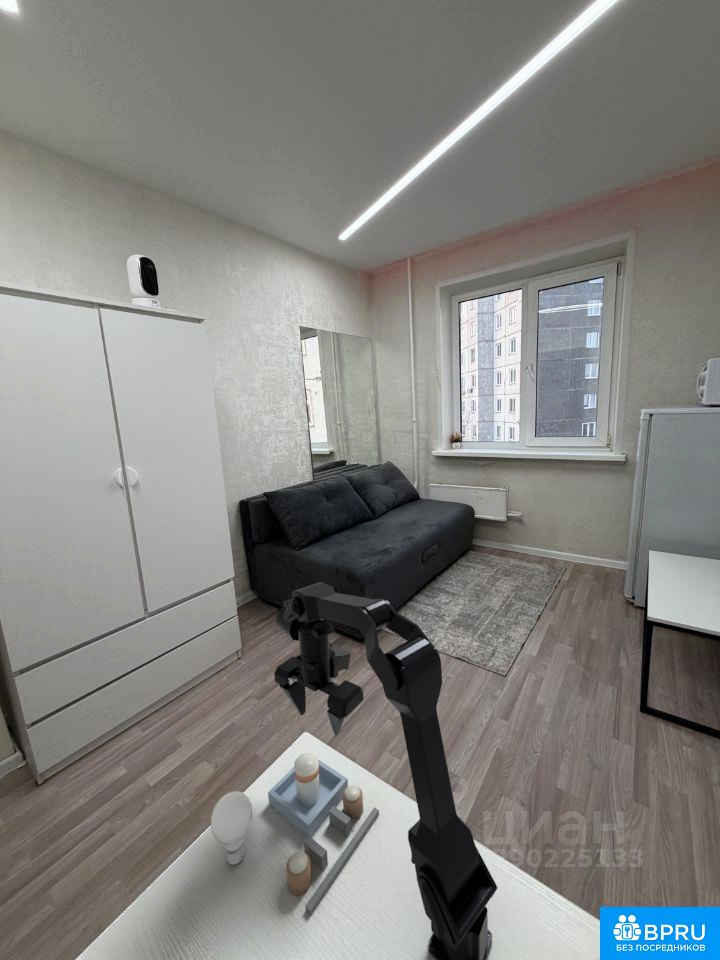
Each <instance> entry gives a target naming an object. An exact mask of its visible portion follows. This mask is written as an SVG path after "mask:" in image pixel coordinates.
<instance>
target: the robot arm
mask: <svg viewBox="0 0 720 960" xmlns="http://www.w3.org/2000/svg"><path fill="white" fill-rule="evenodd" d="M291 595H292V596H291V598H289V599H286V600H284V601H282V603H283V606H282V607H281V608H280V610H279V611H278V613H277V615H276V618H275V624H276V627H277V628H278V629H279V630H280V631H282V632H283V633H284V634H286V636H288V637H289V638H291V640H294V641H298V646H299V655H297V656H294V655H293V656H291V657H290V658H288V659H287V660H285V661H284V662H283V663H281V664H280V665H277V667H276V669H275V671H274V673H273V674H274V682H275V683H277V684H278V685H279V688H280V689H282V691H283V692H284V693H285V694H286V696H287V698H288V699H289V701H291V703H292V705H293V706H294V707H295V709H296V711H297V712H298V714H299V715H300V716H303V715H305V713H306V708H307V707H306V706H307V704H306V703H307V702H306V699H307V697H306V694H307V693H306V688H307V689H309V690H311V691H313V692H315V693H316V692H317V691H320V692H322V693H324V694H326V695H328V697H327V700H326V703H327V708H328V710H326V712H327V716H328V719H329V723H330V725H331V728H332V731H333V734H334V735H335V736H337V735H339V734H340V732H341V730H342V726H343V724H344V720H345V718H347V717H348V716H349V715H350V714H351V713H352V712H353V711H354V710H355V709H356V708H357V707H358V706H360V704H361V703H362V702H363V701H364V690H363V687H361V686H360V685H357V684H355V683H353V682H351V681H349V680H346V679H345V680H343V681H342V682H341V683H340V684H338V683H336V682H333V681H332V679H336V678H337V677H338V676H339V672H340V671H343V670H346V671H347V670H349V668H350V661H351V657H352V656H351V655H352V653H351V651H348V650H347V649H343V648H340V647H338V646H334V645H332V643H331V642H330V635H331V634H333V633H334V632H335V628H334V627H333V625H332V624H330V622H333V623H336V624H341V625H344V626H347V627H351V628H353V629H357V630H359V632H360V633H361V635H362V636H363V638H364V644H365V653H366V660H367V663H368V664H369V666H370V667H371V669H372V670H373V672H374V673H375V675H376V676H377V678H378V679H379V681H380V682H381V685H382V688H383V692H384V696H385V697H386V699H387V700H388V701H389V702H390V703H391V704H392V705H393V707H394V708H395V709H396V710H397V711H398V712H399V715H400V719H401V724H402V730H403V735H404V740H405V746H406V750H407V752H406V753H407V756H408V757H407V758H408V762H409V766H410V767H409V768H410V772H411V779H412V783H413V788H414V794H415V800H416V804H417V810H418V814H419V815H418V816H419V820H417V821H416V823H414V824H413V825H412V826H411V828H409V829H408V832H407V841H408V844H409V847H410V852H411V853H410V855H411V864H412V865H414V868H415V874H416V881H417V885H418V888H419V889H418V890H419V893H420V897H421V900H422V905H423V909H424V912H425V915H426V916H427V917H428V919H429V920H430V928H431V933H432V932H433V935H432V937H431V940H430V943H429V944H428V952H429V955H430V956H432V957H433V958H434V959H435V960H487V957H488V955H489V952H490V948H491V945H492V941H493V933H492V932H491V931H490V929H488V927H489V926H488V921H489V919H488V915H489V914H488V908H487V904H488V903H489V901H490V900H491V899H492V898H493V896H494V895H495V893H496V892H497V890H498V886H497V884H496V882H495V880H494V878H493V875H492V874H491V873H490V870H489V868H488V866H487V865H486V863H485V861H484V859H483V857H482V855H481V854H480V852H479V851H480V850H478V848H477V846H476V844H475V840H474V837H473V833H472V830H471V829H470V827H469V826H468V825H467V824H466V823H465V822H464V821H463V820H462V819H461V818H460V816H459V815H458V813H457V810H456V805H455V799H454V793H453V790H452V789H453V788H452V784H451V777H450V774H449V773H450V772H449V767H448V764H447V757H446V753H445V746H444V743H443V736H442V732H441V727H440V726H441V725H440V722H439V721H440V720H439V717H438V715H439V714H438V711H437V709H438V708H437V706H438V702H439V697H440V694H441V690H442V686H443V673H442V671H443V670H442V660H441V656H440V654H439V651H438V650H437V648H436V647H435V646H434V644H433V643H432V642H431V640H430V639H429V638H428V637H427V635H426V634H425V633H424V632H423V630H422V628H421V627H420V626H419V625H418V624H417V623H415V622H414V621H412V620H410V619H408V618H407V617H405V616H403V615H401V613H399V612H397V611H396V609H395V608H394V607H393V606H392V604H391V603H390V602H389V601H388V600H387V599H385V598H377V599H373V598H369V597H362V596H357V595H350V594H345V593H339V592H336V591H334V587H333V586H331V585H329V584H327V583H325V582H323V581H321V582H320V581H319V582H317V583H313V584H311V585H308V586H305V587H302V588H299V589H296V590H293V591H292V593H291ZM328 621H330V622H328ZM384 627H385V628H386V629H388V630H389V631H391V632H392V633H394V634H396V635H397V636H398V637H400V638H403V639H404V640H406V641H405V642H404V643H401V644H399V645H398V646H396V647H394V648H393V649H391V650H388V651H387V652H384V651H383V650H382V648H381V647H380V645H379V644H380V643H379V639H378V630H380V629H383V628H384Z"/></svg>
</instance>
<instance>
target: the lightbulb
mask: <svg viewBox="0 0 720 960" xmlns="http://www.w3.org/2000/svg"><path fill="white" fill-rule="evenodd" d="M252 820H253V805H252V801H251V800H250V798H249V796H247V794H245V793H244V792H242V791H238V790H235V791H234V790H233V791H230V792H228V793H226V794H225V795H223V796H222V797H220V798H219V800H218V802H216V804H215V806H214V808H213V810H212V813H211V817H210V829H211V833H212V835H213V837H214V838H215V839H216V841H217V842H218V843H220V844H222V845H223V847H224V849H225V851H226V859H227V862H228V863H229V864H230V865H237V864H239V863H240V862H241V861H242V859H243V858H244V855H245V845H244V841H245V835H246V833H247V831H248V830H249V828H250V825H251V824H252V823H251V822H252Z"/></svg>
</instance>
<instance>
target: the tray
mask: <svg viewBox="0 0 720 960" xmlns="http://www.w3.org/2000/svg"><path fill="white" fill-rule="evenodd" d="M318 764H319V782H320V798H319V800H318V801H317V803H316V804H314V805H313V806H310V807H303V806H301V805H300V804H299V803H298V801H297V793H296V779H295V770H294V768H295V766H293V767H292V768H291V769H290V770H288V772H287V773H285V775H284V776H282V778H281V779H280V780H279V781H278V782H276V784H275V785H274V786H273V787H272V788H270V790H269V791H268V792H267V796H268V805H269V806H271V808H273V809H274V810H275V811H276V812H278V814H280V815H281V816H282V817H284V818H285V819H286V820H287V821H288V822H290V823H291V824H292V825H293V826H295V828H297V829H298V830H299V831H301V833H303V834H304V835H305V836H306V837H308V836H310V837H311V838H312V836H313V835H314V834H315V832H316V831H317V830H318V828H320V827H321V825H322V824H323V822H324V821H326V819H327V817H329V810H330V809H331V808H332V807H333V806H335V807H336V806H337V805H338V804H339V802H341V800H343V792H344V790H345V789H346V788H347V787H348V786H349V782H348V777H346V776H344V775H343V774H341V773H340V772H339V771H337V770H335V769H334V768H332V767H330V766H329V765H328V764H326V763H324V762H323V761H322V760H320V759H318Z"/></svg>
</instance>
